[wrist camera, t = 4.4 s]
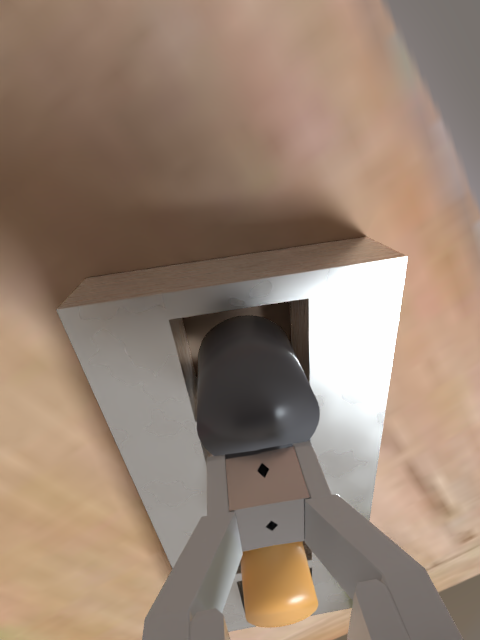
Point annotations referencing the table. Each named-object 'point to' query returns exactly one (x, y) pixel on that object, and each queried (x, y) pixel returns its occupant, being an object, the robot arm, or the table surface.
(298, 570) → the button orange
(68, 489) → the table surface
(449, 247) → the table surface
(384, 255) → the panel
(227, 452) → the button black
